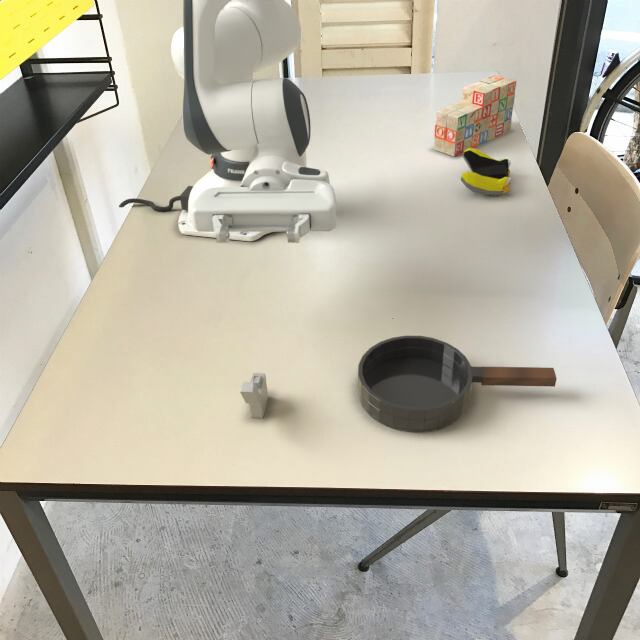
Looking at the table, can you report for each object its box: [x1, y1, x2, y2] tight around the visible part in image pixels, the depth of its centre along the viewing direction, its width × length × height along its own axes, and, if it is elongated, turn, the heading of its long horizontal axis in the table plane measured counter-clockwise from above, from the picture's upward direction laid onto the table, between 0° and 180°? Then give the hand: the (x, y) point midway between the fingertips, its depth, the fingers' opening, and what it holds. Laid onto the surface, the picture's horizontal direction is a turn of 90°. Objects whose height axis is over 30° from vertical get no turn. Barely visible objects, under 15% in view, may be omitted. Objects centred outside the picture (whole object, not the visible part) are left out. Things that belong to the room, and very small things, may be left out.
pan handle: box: [471, 366, 558, 388], centre depth 93 cm, size 11×2×2 cm, turn 86°
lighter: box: [239, 372, 269, 419], centre depth 91 cm, size 7×2×8 cm, turn 174°
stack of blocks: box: [433, 75, 517, 157], centre depth 161 cm, size 21×6×12 cm, turn 133°
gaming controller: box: [460, 147, 512, 198], centre depth 144 cm, size 15×6×10 cm
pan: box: [357, 335, 473, 433], centre depth 95 cm, size 15×15×4 cm
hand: (257, 238), depth 91 cm, fingers open, 8 cm apart
